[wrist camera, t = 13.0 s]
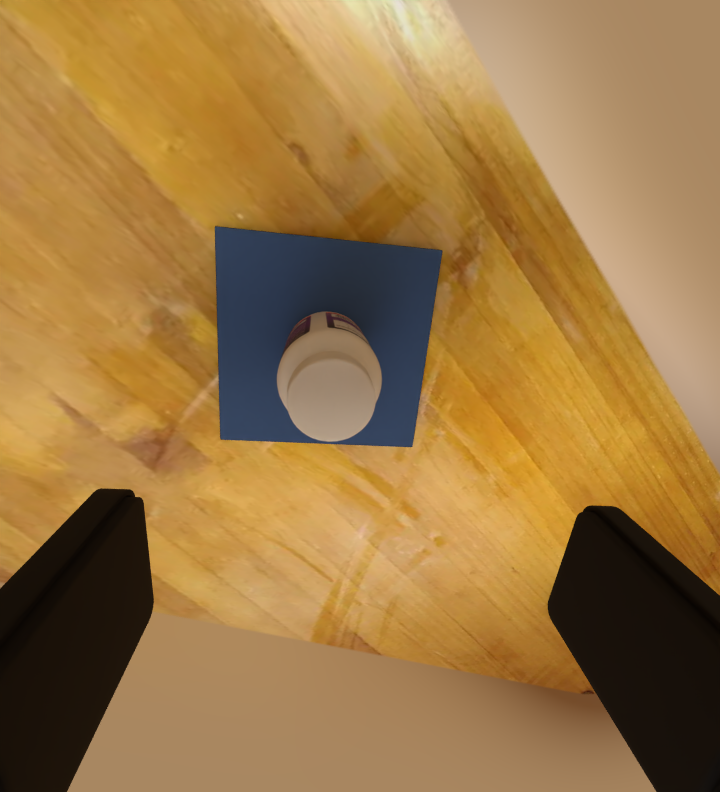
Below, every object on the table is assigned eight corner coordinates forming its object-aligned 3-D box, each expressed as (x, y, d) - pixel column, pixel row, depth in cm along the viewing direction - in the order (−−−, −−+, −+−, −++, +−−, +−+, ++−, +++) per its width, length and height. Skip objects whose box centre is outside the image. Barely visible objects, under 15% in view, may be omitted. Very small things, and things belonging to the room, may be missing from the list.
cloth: (216, 226, 24) (214, 226, 23) (440, 250, 25) (442, 250, 25) (221, 437, 28) (220, 439, 28) (411, 444, 30) (412, 447, 30)
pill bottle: (299, 397, 27) (289, 468, 18) (275, 321, 25) (252, 359, 16) (374, 378, 27) (401, 439, 18) (356, 301, 25) (378, 328, 16)
